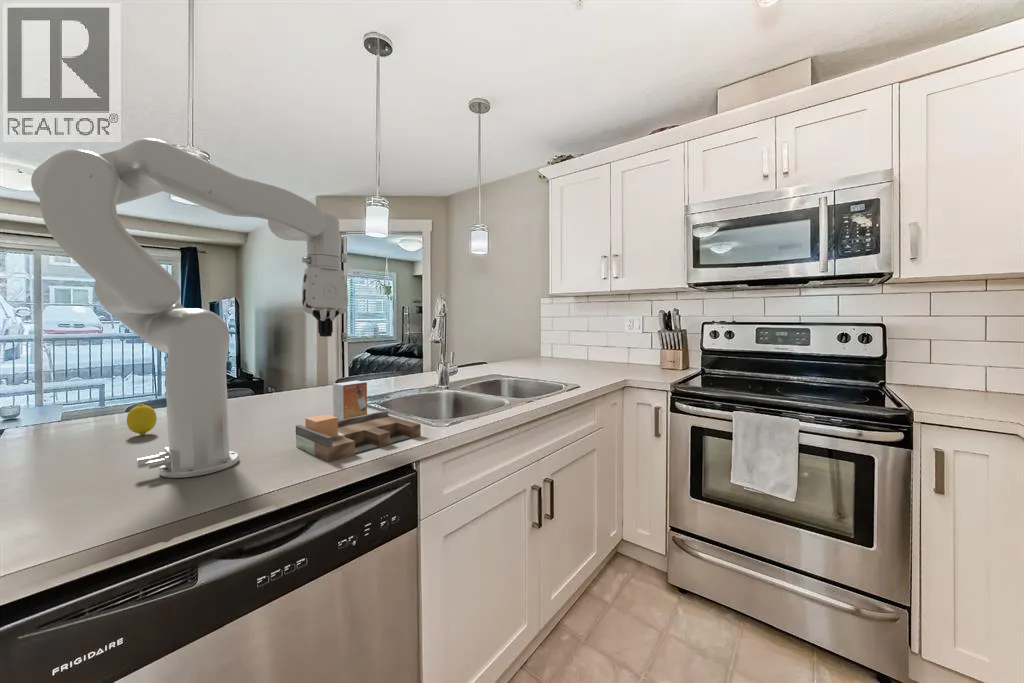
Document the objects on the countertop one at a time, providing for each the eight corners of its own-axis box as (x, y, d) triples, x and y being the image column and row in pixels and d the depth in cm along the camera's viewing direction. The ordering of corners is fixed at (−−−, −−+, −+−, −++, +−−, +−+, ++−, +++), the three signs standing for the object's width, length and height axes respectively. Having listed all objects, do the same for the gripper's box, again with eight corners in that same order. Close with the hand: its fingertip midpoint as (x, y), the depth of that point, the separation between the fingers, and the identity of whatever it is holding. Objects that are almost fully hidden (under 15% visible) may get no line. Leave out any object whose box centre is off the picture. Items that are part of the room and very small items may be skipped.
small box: (343, 421, 116) (342, 385, 116) (332, 418, 120) (332, 383, 119) (368, 416, 123) (367, 381, 122) (357, 413, 126) (356, 379, 125)
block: (316, 439, 89) (315, 421, 89) (305, 435, 92) (305, 418, 92) (338, 434, 93) (337, 417, 93) (327, 430, 96) (326, 414, 96)
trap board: (328, 461, 84) (327, 438, 84) (296, 446, 94) (295, 425, 93) (420, 435, 103) (420, 416, 103) (386, 425, 112) (386, 407, 112)
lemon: (143, 438, 99) (141, 406, 99) (121, 438, 99) (119, 406, 99) (163, 432, 105) (161, 401, 104) (142, 431, 105) (140, 401, 104)
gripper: (300, 259, 95) (302, 338, 96) (359, 266, 106) (360, 335, 107) (286, 262, 99) (288, 336, 100) (344, 268, 111) (345, 334, 112)
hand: (325, 336), depth 104 cm, fingers closed
